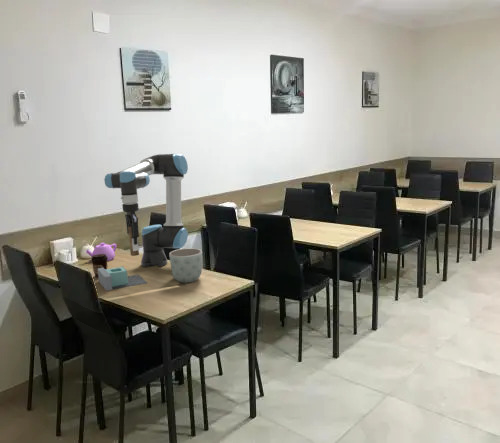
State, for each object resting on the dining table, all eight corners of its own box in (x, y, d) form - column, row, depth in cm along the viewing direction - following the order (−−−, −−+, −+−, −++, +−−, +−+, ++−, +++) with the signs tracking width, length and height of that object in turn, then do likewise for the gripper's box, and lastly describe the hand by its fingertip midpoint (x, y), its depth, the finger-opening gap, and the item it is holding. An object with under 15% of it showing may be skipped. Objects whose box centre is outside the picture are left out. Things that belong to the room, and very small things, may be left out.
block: (123, 279, 256) (122, 266, 254) (128, 283, 248) (126, 270, 247) (106, 282, 252) (105, 269, 250) (110, 287, 244) (109, 273, 242)
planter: (209, 281, 251) (207, 252, 248) (178, 287, 243) (176, 258, 240) (195, 273, 265) (193, 246, 263) (166, 279, 257) (164, 251, 254)
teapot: (82, 261, 301) (80, 244, 299) (112, 254, 314) (111, 238, 312) (91, 265, 291) (89, 248, 289) (122, 258, 304) (120, 242, 301)
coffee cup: (104, 281, 258) (102, 257, 256) (90, 280, 260) (87, 257, 258) (112, 276, 267) (109, 253, 264) (98, 275, 268) (95, 253, 266)
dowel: (137, 253, 243) (135, 225, 240) (140, 254, 240) (137, 227, 237) (129, 254, 241) (127, 227, 238) (132, 256, 238) (129, 228, 235)
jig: (138, 276, 264) (137, 262, 262) (147, 285, 248) (146, 269, 247) (98, 283, 254) (97, 268, 253) (106, 293, 239) (104, 277, 237)
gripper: (117, 201, 241) (122, 247, 246) (127, 206, 226) (132, 254, 231) (132, 200, 244) (136, 245, 249) (143, 204, 230) (147, 251, 235)
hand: (134, 249), depth 240 cm, fingers closed on dowel, 4 cm apart
